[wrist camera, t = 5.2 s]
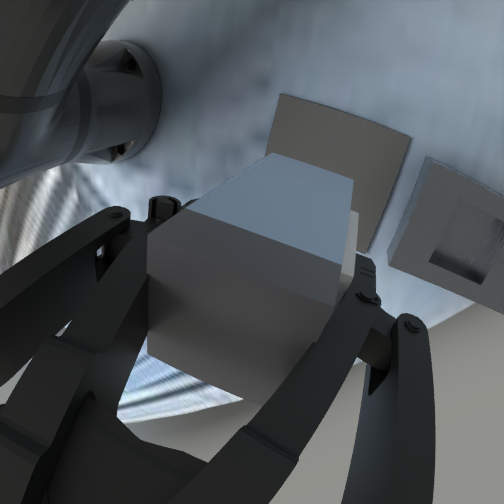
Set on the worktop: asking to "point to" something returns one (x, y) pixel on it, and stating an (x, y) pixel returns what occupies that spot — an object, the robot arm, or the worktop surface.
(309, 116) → the mat
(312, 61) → the worktop surface
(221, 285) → the plug
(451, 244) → the strip
